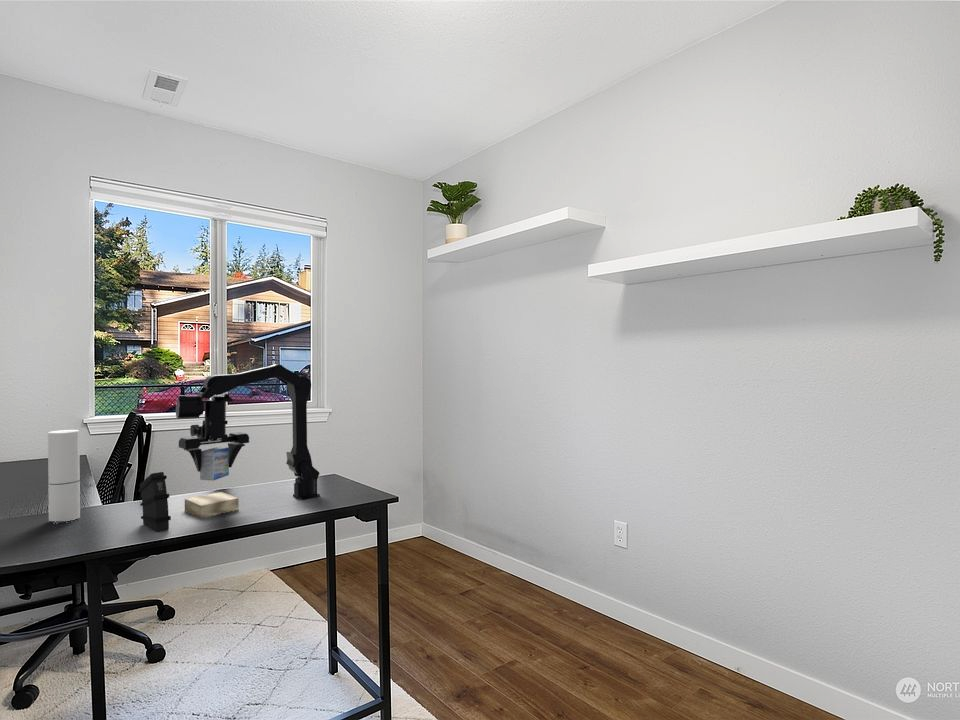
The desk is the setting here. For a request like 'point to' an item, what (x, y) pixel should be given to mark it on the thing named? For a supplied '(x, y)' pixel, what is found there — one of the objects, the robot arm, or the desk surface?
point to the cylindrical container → (63, 475)
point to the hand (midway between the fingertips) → (214, 469)
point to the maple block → (211, 504)
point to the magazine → (155, 502)
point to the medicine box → (214, 463)
